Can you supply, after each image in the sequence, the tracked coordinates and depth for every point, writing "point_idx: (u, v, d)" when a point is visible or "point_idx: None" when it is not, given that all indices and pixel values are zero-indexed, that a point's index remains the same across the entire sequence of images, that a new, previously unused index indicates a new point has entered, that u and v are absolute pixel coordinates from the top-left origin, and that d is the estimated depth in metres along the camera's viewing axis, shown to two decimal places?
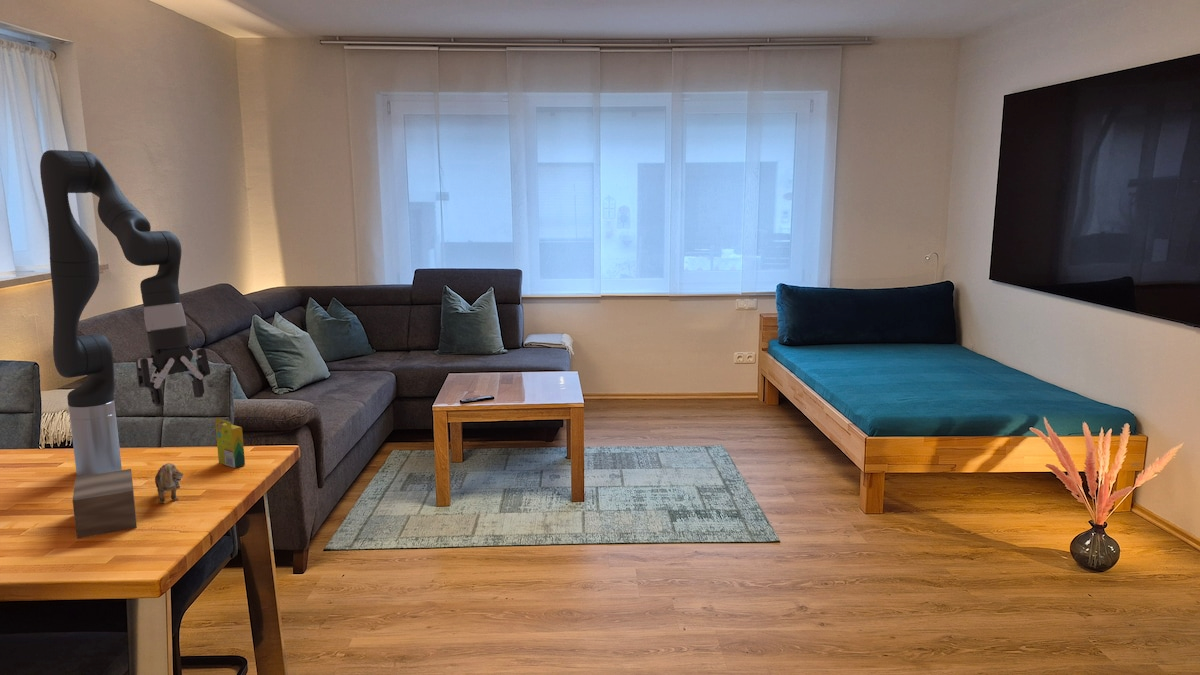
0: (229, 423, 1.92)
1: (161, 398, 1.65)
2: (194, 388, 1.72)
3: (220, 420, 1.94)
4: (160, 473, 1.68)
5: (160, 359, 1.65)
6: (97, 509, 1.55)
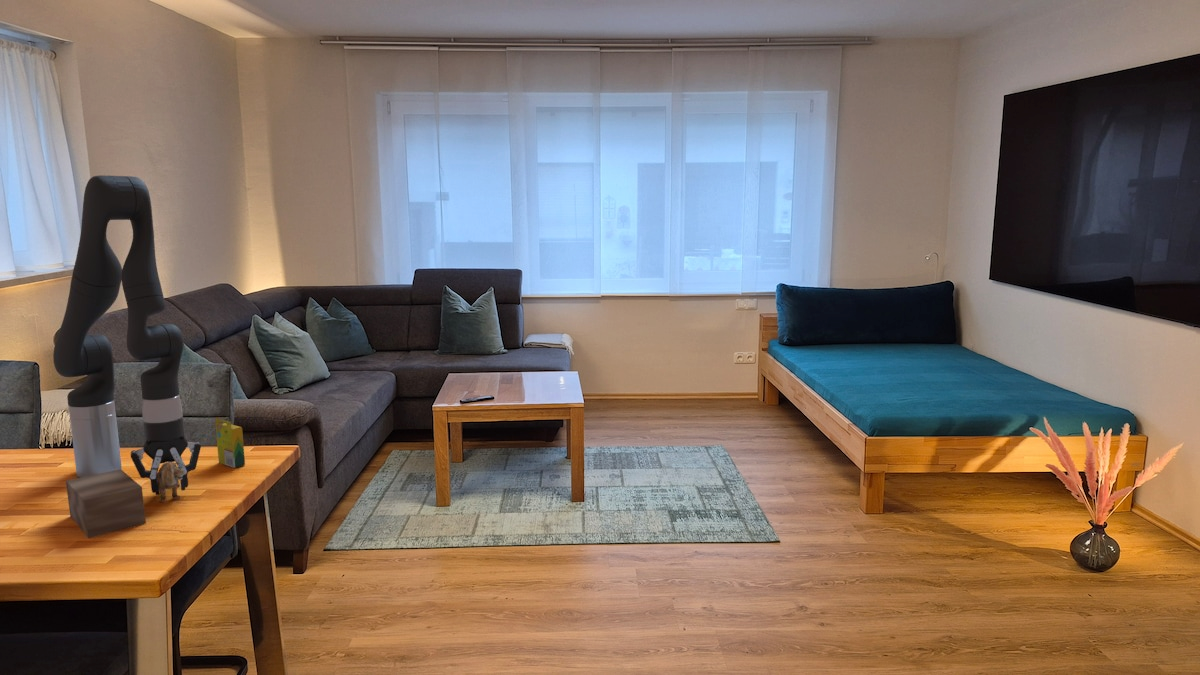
0: (229, 423, 1.92)
1: (157, 488, 1.72)
2: (180, 480, 1.76)
3: (220, 420, 1.94)
4: (162, 471, 1.69)
5: (150, 449, 1.70)
6: (108, 507, 1.56)
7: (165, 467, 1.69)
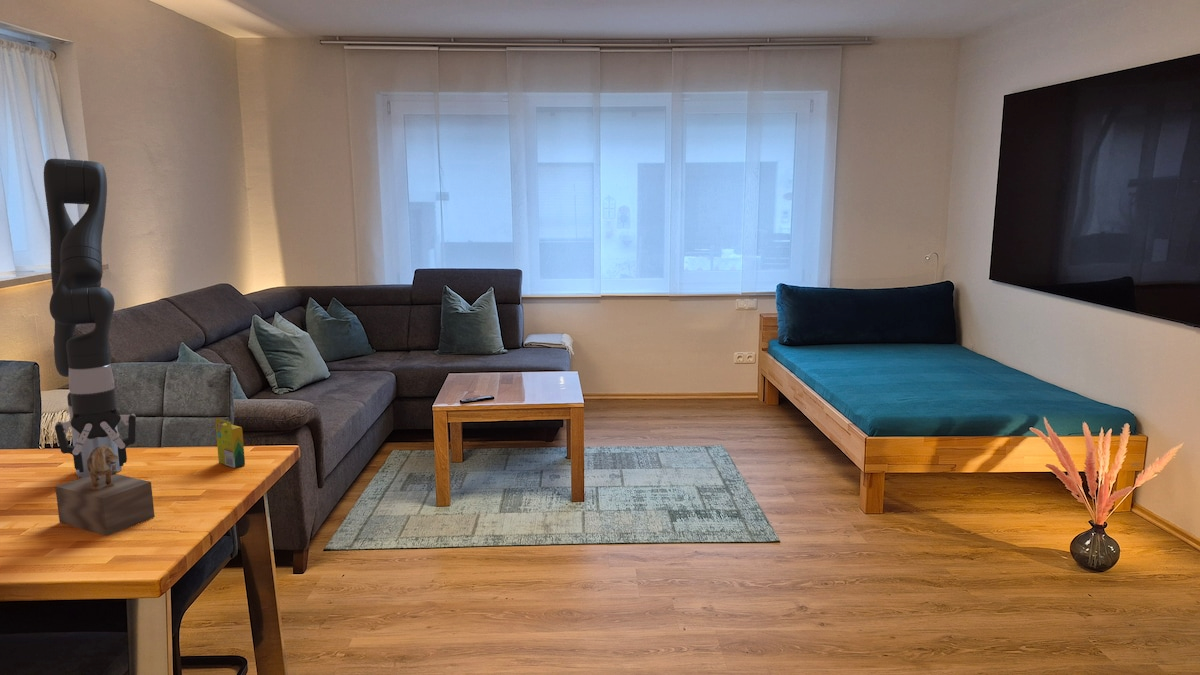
0: (229, 423, 1.92)
1: (80, 465, 1.58)
2: None
3: (220, 420, 1.94)
4: (92, 456, 1.55)
5: (77, 423, 1.56)
6: (123, 504, 1.58)
7: (96, 451, 1.55)
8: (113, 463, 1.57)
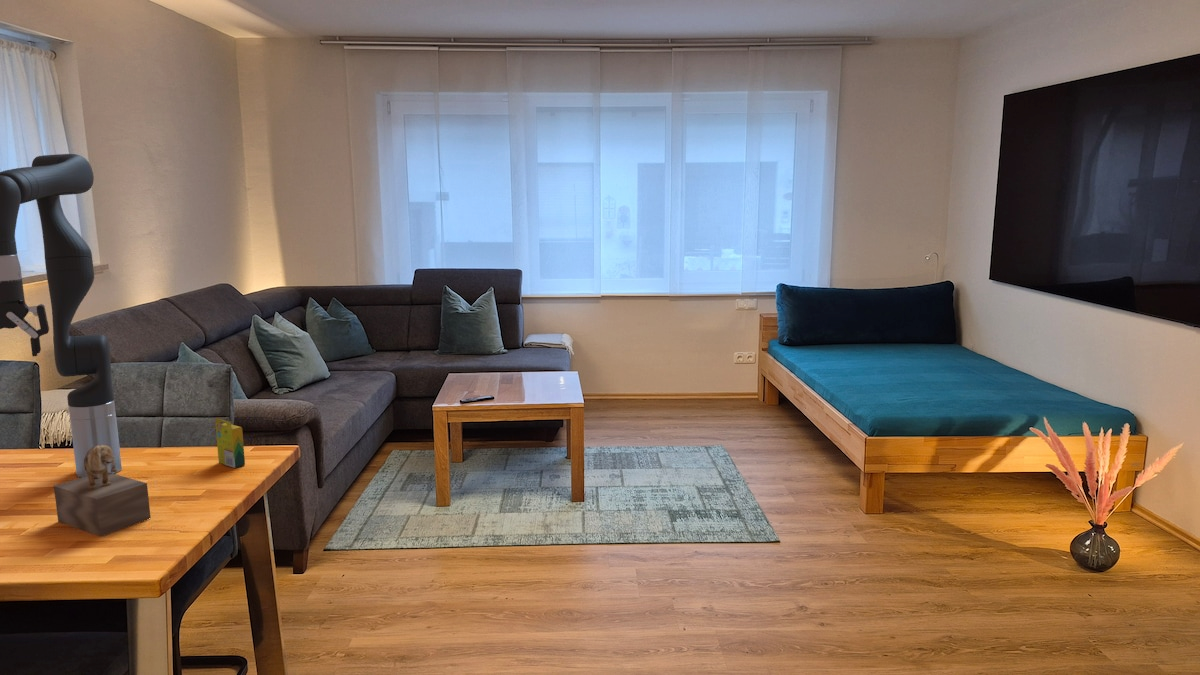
0: (229, 423, 1.92)
1: None
2: None
3: (220, 420, 1.94)
4: (88, 455, 1.56)
5: None
6: (118, 505, 1.57)
7: (92, 451, 1.56)
8: (109, 463, 1.58)
